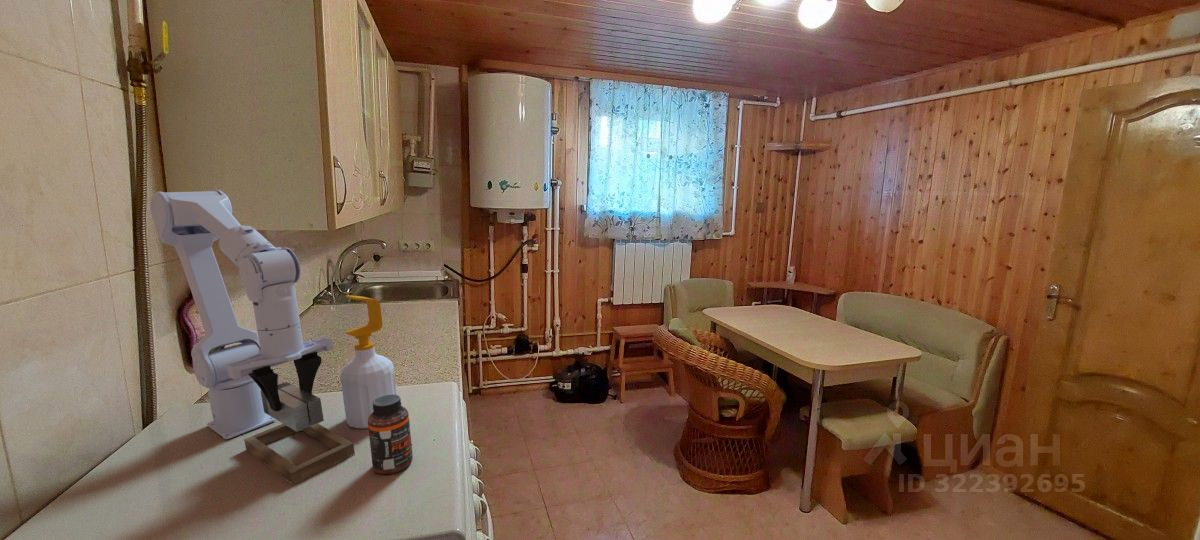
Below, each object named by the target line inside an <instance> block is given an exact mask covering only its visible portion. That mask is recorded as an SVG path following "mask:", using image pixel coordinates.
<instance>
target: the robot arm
mask: <svg viewBox="0 0 1200 540" xmlns="http://www.w3.org/2000/svg"><path fill="white" fill-rule="evenodd" d="M149 203H150V215H151V218H152V220H153V224H154V226H155V229H156V233H157V236H158V237H159V238H160V241H161V242H162V244H165V245H169V246H172V247H174V249H175V251H176V253H177V255H178V258H179V260H180V263H181V266H182V269H183V272H184V274H185V278H186V280H187V283H188V286H189V289H190V292H191V294H192V299H193V301H194V303H195V307H196V309H197V313H198V315H199V318H200V322H201V324H202V327H203V329H204V333H205V334H204V335H203V336H202V337H201V338H200V339H199V341H198V342H196V343H195V344H194V346H193V347H192V349H191V353H190V355H191V358H192V367H193V372H194V376H195V378H196V380H197V382H198V384H199V385H201V386H202V387H204V388H207V389H208V391H207V392H208V393H207V395H208V400H209V401H208V402H209V405H210V410H211V415H212V421H209V422H207V423H206V425H207V427H209V428H210V429H211V430H213V431H214V432H215V433H217V434H218V435H219V436H220V437H222V438H223V439H224V440H229V439H232V438H235V437H237V436H240V435H242V434H245V433H247V432H249V431H252V430H256V429H258V428H261V427H263V426H266V425H268V424H271V423H273V422H275V421H277V420H276V419H274V418H273V417H271V416H269V415H268V414H266V413H264V408H263V403H262V397H261V390H262V392H263V393H264V395H265V397H266V398H267V400H268V402H269V405H270V408H271V409H272V410H274V411H275V412H277V411H280V410H281V404H280V399H279V394H278V385H279V384H278V383H279V374H278V373H276V372H274V369H273V367H276V366H279V365H283V364H286V363H289V362H292V361H293V364H294V367H295V370H296V374H297V379H298V386H299V387H298V388H300V389H302V390H304V391H307V392H309V393H311V394H313V387H314V382H315V378H316V375H317V373H318V370H319V368H320V366H321V364H322V356H321V355H318V353H323V352H325V351H326V352H330V351H334V344H333V339H332V338H330V337H327V336H325V337H322V338H318V339H313V340H307V341H304V339H303V334H302V333H303V332H302V326H301V325H302V324H301V320H300V319H301V318H300V312H299V306H298V300H297V291H296V285H295V284H296V283H297V282H299V280H300V278H301V266H300V261H299V259H298V256H297V255H296V254H295V253H294V251H293V249H291V248H289V247H281V246H279V247H276V246H275V245H273V244H272V243H271V242H270V241H268V239H267V238H265V236H264V235H262V234H261V233H260V232H259V231H258V230H256V229H255V228H253V227H252V226H250V225H242V224H241V223H240V222H239V221H238V219H236V218H235V216H234V215H233V207H232V203H231V201H230V197H228V195H227V194H226V193H224V191H222V190H220V189H215V190H207V191H173V192H171V191H170V192H167V191H166V192H164V191H156V192H155V193H154V194H153V195H152V196H151V198H150V202H149ZM217 241H218V247H219V249H220V251H221V252H222V253H223V254H224V255H225V256H226V257H227V258H228V259H229V260H230V261H231V263H233V264H234V265H235V266H236V267H237V268H238V269H239V271H238V273H239V277H240V279H241V282H242V284H243V286H244V288H245V291H246V296H247V298H248V300H249V301H252V306H253V312H254V317H255V325H256V329H257V331H254V330H251V329H249V328H245V327H243V326H240V325H239V322H238V319H237V316H236V314H235V311H234V309H233V305H232V302H231V299H230V297H229V293H228V290H227V287H226V285H225V282H224V279H223V275H222V273H221V270H220V267H219V264H218V262H217V259H216V256H215V252H214V250H213V244H214V242H217ZM232 344H235V345H232ZM229 345H231V346H229ZM225 346H228V347H225ZM222 347H223V348H222ZM217 348H220V349H217ZM214 349H217V350H214ZM211 350H213V351H211Z"/></svg>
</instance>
